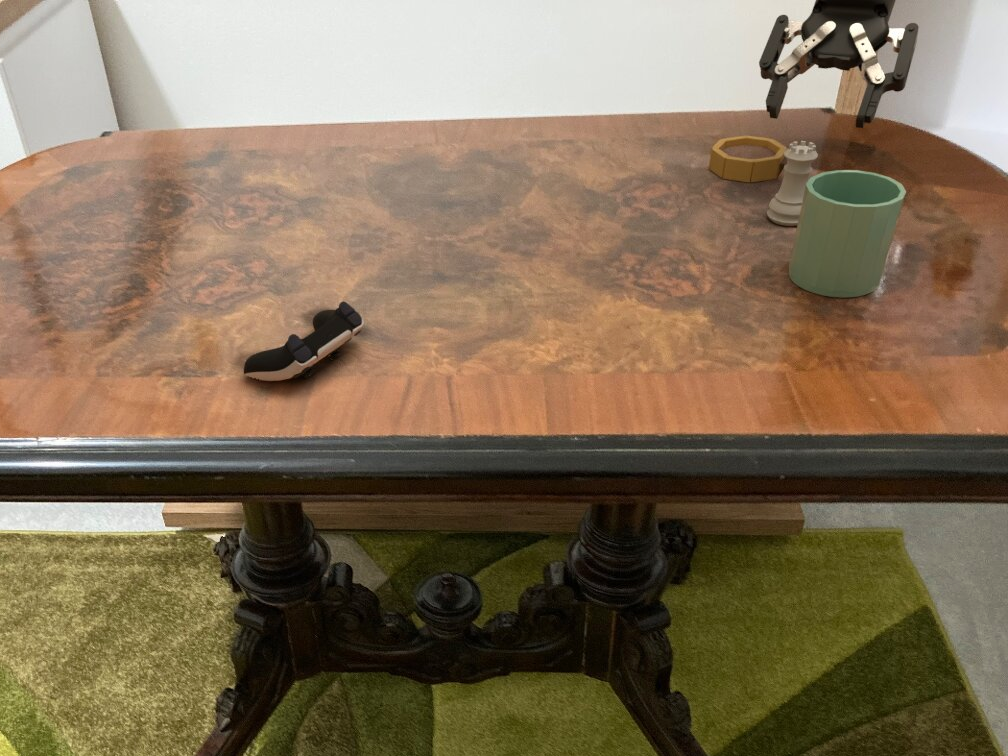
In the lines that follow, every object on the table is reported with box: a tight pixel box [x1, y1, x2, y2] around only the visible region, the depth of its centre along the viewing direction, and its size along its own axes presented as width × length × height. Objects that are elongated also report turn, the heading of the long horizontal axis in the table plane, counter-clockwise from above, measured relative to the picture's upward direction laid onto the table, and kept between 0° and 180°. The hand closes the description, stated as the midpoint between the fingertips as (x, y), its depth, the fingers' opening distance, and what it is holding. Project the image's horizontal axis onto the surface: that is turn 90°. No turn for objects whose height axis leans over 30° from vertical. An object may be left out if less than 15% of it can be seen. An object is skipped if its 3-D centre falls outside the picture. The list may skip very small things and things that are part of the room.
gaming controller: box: [243, 301, 364, 382], centre depth 81 cm, size 11×4×7 cm
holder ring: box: [708, 135, 788, 184], centre depth 109 cm, size 8×8×2 cm
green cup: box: [788, 169, 907, 299], centre depth 86 cm, size 8×8×9 cm
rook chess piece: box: [766, 140, 819, 227], centre depth 97 cm, size 4×4×8 cm
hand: (815, 119), depth 95 cm, fingers open, 8 cm apart
